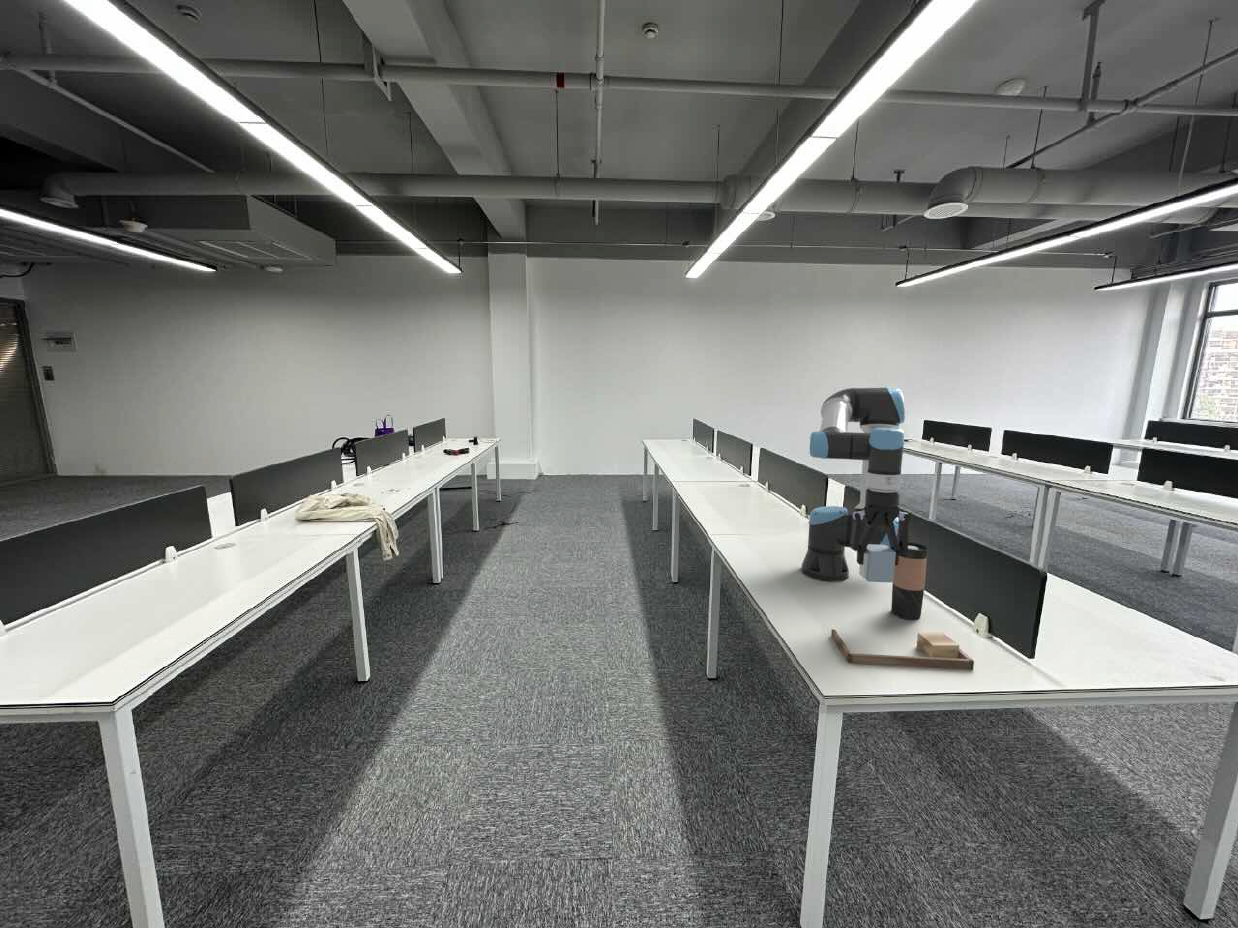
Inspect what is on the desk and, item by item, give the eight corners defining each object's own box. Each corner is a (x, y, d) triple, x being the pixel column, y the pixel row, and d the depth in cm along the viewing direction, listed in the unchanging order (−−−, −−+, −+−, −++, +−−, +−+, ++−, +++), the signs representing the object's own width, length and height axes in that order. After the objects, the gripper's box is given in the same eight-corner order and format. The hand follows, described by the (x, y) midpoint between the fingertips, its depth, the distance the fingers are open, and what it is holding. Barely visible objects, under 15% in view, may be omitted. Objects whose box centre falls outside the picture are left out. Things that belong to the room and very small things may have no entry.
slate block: (859, 572, 129) (861, 544, 128) (883, 573, 128) (885, 544, 127) (868, 581, 123) (870, 551, 122) (893, 582, 122) (895, 552, 121)
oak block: (916, 647, 119) (917, 632, 118) (941, 647, 119) (942, 632, 118) (931, 661, 113) (933, 645, 112) (957, 661, 113) (959, 645, 112)
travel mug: (926, 621, 132) (932, 551, 129) (895, 619, 133) (901, 549, 130) (915, 609, 139) (921, 542, 136) (886, 607, 141) (891, 541, 138)
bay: (831, 636, 124) (831, 629, 124) (942, 641, 121) (943, 634, 121) (848, 663, 112) (849, 655, 112) (973, 669, 109) (974, 661, 109)
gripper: (848, 491, 119) (843, 580, 123) (930, 493, 117) (922, 583, 121) (838, 486, 127) (833, 570, 130) (915, 487, 125) (907, 572, 128)
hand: (876, 576), depth 126 cm, fingers closed on slate block, 6 cm apart
